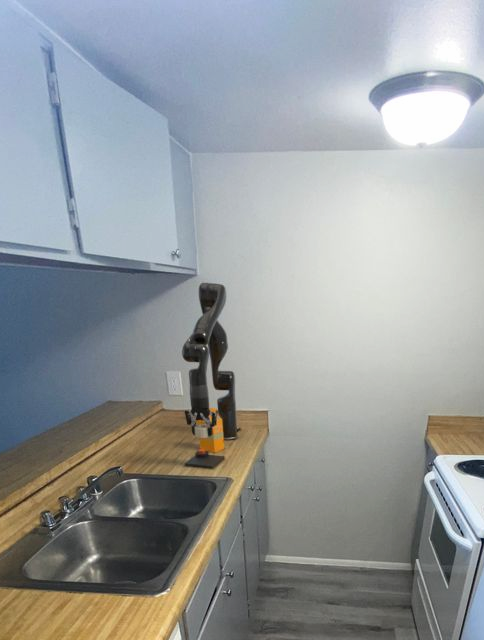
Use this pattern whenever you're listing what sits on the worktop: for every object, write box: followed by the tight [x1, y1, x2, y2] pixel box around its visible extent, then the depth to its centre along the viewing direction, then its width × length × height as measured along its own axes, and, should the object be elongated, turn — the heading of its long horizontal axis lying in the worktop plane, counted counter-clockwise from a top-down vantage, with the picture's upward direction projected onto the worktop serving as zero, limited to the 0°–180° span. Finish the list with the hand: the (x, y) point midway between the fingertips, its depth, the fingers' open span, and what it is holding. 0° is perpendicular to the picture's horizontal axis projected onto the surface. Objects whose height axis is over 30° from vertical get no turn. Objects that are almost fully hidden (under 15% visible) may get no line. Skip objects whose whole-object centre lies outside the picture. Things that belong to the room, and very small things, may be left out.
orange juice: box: [197, 407, 225, 453], centre depth 224 cm, size 8×9×20 cm
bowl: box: [194, 424, 209, 439], centre depth 202 cm, size 6×6×4 cm
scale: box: [184, 450, 226, 470], centre depth 211 cm, size 14×13×3 cm
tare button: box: [197, 448, 205, 454], centre depth 214 cm, size 3×3×2 cm
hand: (202, 435), depth 202 cm, fingers closed on bowl, 6 cm apart
